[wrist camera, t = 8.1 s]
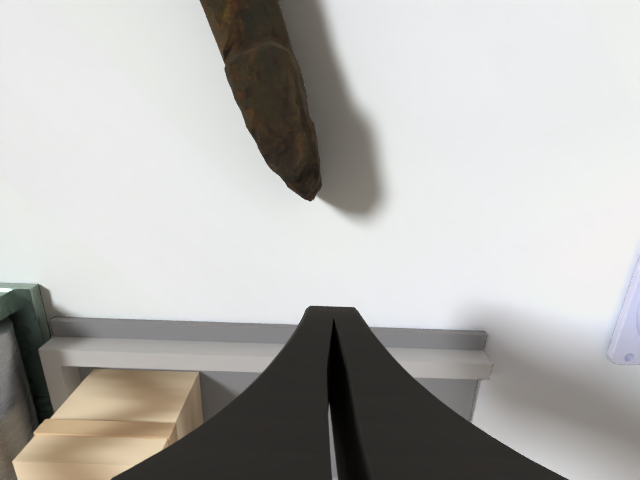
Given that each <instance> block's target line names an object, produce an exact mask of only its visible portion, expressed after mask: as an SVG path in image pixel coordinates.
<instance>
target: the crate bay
mask: <svg viewBox="0 0 640 480" xmlns="http://www.w3.org/2000/svg"><path fill="white" fill-rule="evenodd" d="M50 324H51V328H52V332H53V337H52V338H51V339H50V340H49V341H47V342H46V343H45V344H44V345H43V346H42V347H40V348H39V349H38V351H39V355H40V359H41V363H42V367H43V371H44V375H45V379H46V383H47V387H48V391H49V395H50V399H51V403H52V407H53V411H54V413H55V412H56V411H57V410H58V409H59V408H60V407H61V405H62V404H63V403H64V402H65V401H66V400H67V399H68V398H69V396H70V395H71V394H72V393H73V392H74V391H75V390H76V388H77V387H78V386H79V385H80V384H81V383H82V382H83V381H84V379H85V378H86V377H87V376H88V375H89V374H90V373H91V371H92V370H93V369H120V370H151V371H182V372H199V378H200V389H201V401H202V412H203V423H205V422H206V421H208V420H209V419H210V418H212V417H213V416H214V415H216V414H217V413H218V412H219V411H221V410H222V409H223V408H224V407H226V406H227V405H228V404H229V403H230V402H231V401H233V400H234V399H235V398H236V397H237V396H238V395H239V394H241V393H242V392H243V391H244V390H245V389H246V388H247V387H248V386H249V385H250V384H251V383H252V382H253V381H254V380H255V379H256V378H257V377H258V376H259V375H260V374H261V373H262V372H263V371H264V370H265V369H266V368H267V367H268V365H269V364H270V363H271V362H272V361H273V359H274V358H275V357H276V356H277V354H278V353H279V352H280V351H281V350H282V348H283V347H284V346H285V344H286V343H287V341H288V340H289V338H290V337H291V336H292V334H293V333H294V331H295V330H296V328H297V326H298V325H284V324H254V323H223V322H193V321H163V320H132V319H102V318H71V317H54V318H53V319H51V320H50ZM369 328H370V329H371V331H372V332H373V333H374V334H375V336H376V337H377V338H378V340H379V341H380V342H381V343H382V344H383V346H384V347H385V348H386V349H387V350H388V352H389V353H390V354H391V355H392V356H393V357H394V358H395V359H396V361H397V362H398V363H399V364H400V365H401V366H402V367H403V368H404V369H405V370H406V371H407V372H408V373H409V374H410V375H411V376H412V377H413V378H414V379H415V380H417V381H418V382H419V383H420V384H421V385H422V386H423V387H425V388H426V389H427V390H428V391H429V392H430V393H432V394H433V395H434V396H435V397H436V398H438V399H439V400H440V401H441V402H443V403H444V404H445V405H447V406H448V407H449V408H451V409H452V410H453V411H455V412H456V413H458V414H459V415H460V416H462V417H463V418H465V419H466V420H467V421H469V420H470V415H471V410H472V405H473V401H474V396H475V391H476V386H477V381H478V380H490V376H491V371H492V367H493V364H492V362H491V361H490V359H489V358H488V356H487V354H486V353H485V351H484V348H485V343H486V338H487V334H486V333H485V332H484V331H466V330H436V329H405V328H375V327H369ZM328 420H329V438H330V456H331V470H332V480H338V476H337V468H336V459H335V450H334V441H333V433H332V424H331V415H330V405H329V411H328Z"/></svg>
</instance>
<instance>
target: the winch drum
mask: <svg viewBox="0 0 640 480" xmlns="http://www.w3.org/2000/svg"><path fill="white" fill-rule="evenodd" d="M50 339H51V337H50V333H49V328H48V324H47V320H46V316H45V312H44V307H43V303H42V299H41V295H40V290H39V286H38V284H17V283H0V480H18V479H17V476H16V472H15V469H14V466H13V463H12V461H13V460H14V459H15V458H16V456H17V455H18V454H19V453H20V452H21V451H22V450H23V449H24V447H25V446H26V445H27V444H28V443H29V442H30V441H31V439H32V438H33V437H34V433H33V432H34V431H35V430H36V429H37V428H38V427H39V426H40V425H41V423H42V422H43V421H44V420H45V419H50V418H51V417H52V416H53V415H54V411H53V407H52V403H51V399H50V395H49V391H48V387H47V383H46V379H45V375H44V371H43V367H42V363H41V359H40V355H39V351H38V349H39V348H40V347H42V346H43V345H44V344H45V343H46V342H47V341H49V340H50Z"/></svg>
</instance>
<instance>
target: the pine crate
mask: <svg viewBox="0 0 640 480" xmlns="http://www.w3.org/2000/svg"><path fill="white" fill-rule="evenodd" d="M202 424H203V412H202V401H201V389H200V378H199V372H182V371H151V370H120V369H93V370H92V371H91V373H90V374H89V375H88V376H87V377H86V378H85V379H84V381H83V382H82V383H81V384H80V385H79V386H78V387H77V388H76V390H75V391H74V392H73V393H72V394H71V395H70V396H69V398H68V399H67V400H66V401H65V402H64V403H63V404H62V405H61V407H60V408H59V409H58V410H57V411H56V412H55V413H54V415H53V416H52V417H51V418H50V419H45V420H44V421H43V422H42V423H41V425H40V426H39V427H38V428H37V429H36V430H35V431H34V432H33V433H34V437H33V438H32V439H31V441H30V442H29V443H28V444H27V445H26V446H25V447H24V449H23V450H22V451H21V452H20V453H19V454H18V455H17V456H16V458H15V459H14V460H13V461H12V463H13V466H14V469H15V472H16V476H17V479H18V480H111V479H112V478H113V477H114V476H116V475H118V474H120V473H122V472H124V471H126V470H128V469H129V468H131V467H133V466H135V465H137V464H138V463H140V462H142V461H144V460H145V459H147V458H149V457H151V456H153V455H154V454H156V453H158V452H160V451H161V450H163V449H165V448H167V447H168V446H170V445H172V444H173V443H175V442H176V441H178V440H180V439H181V438H183V437H184V436H186V435H187V434H189V433H190V432H192V431H193V430H195V429H196V428H198V427H199V426H200V425H202Z"/></svg>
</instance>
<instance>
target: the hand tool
mask: <svg viewBox="0 0 640 480" xmlns="http://www.w3.org/2000/svg"><path fill="white" fill-rule="evenodd" d="M200 2H201V4H202V7H203V9H204V12H205V14H206V17H207V19H208V22H209V25H210V27H211V30H212V32H213V35H214V37H215V40H216V42H217V45H218V47H219V50H220V53H221V55H222V58H223V61H224V63H225V65H226V66H225V68H224V69H225V73H226V77H227V80H228V83H229V85H230V87H231V89H232V92H233V95H234V98H235V101H236V103H237V105H238V107H239V108H240V110H241V112H242V115H243V118H244V121H245V124H246V127H247V129H248V131H249V132H250V134H251V135H252V137H253V138H254V140H255V142H256V143H257V146H258V149H259V150H260V152H261V154H262V156H263V157H264V159H265V161H266V163H267V165H268V166H269V167H270V168H271V170H272V171H274V172H275V173H276V174H278V175H279V176H280V177H281V178H282V180H283V181H284V182H285V183H286V185H287V187H288V188H290V189H291V190H292V191H294V192H295V193H297V194H298V195H299V196H301V197H302V198H303V199H305V200H308V201H312V200H314V198H315V196H316V194H317V192H318V191H319V190H320V188H321V186H322V183H321V173H320V158H319V152H318V145H317V137H316V132H315V128H314V123H313V122H312V120H311V118H310V116H309V112H308V107H307V99H306V98H307V96H306V92H305V87H304V83H303V79H302V75H301V71H300V67H299V65H298V63H297V60H296V58H295V56H294V54H293V51H292V48H291V44H290V41H289V37H288V34H287V30H286V26H285V23H284V19H283V16H282V13H281V10H280V6H279V3H278V0H200Z"/></svg>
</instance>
